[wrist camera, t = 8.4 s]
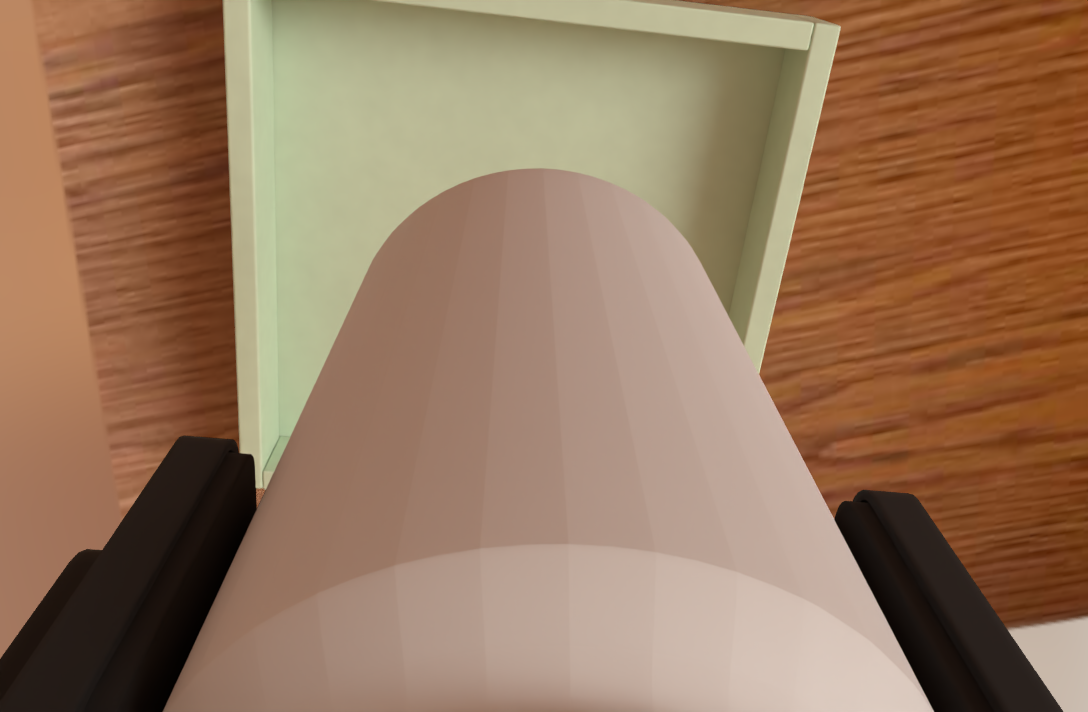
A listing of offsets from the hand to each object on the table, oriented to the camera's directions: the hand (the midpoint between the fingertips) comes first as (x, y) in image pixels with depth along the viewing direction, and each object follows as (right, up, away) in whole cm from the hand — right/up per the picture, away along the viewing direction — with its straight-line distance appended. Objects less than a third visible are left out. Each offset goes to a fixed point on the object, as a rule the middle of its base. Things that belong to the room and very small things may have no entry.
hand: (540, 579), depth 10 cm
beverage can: (0, +3, +7) cm, 7 cm away
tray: (-1, +6, +22) cm, 23 cm away
